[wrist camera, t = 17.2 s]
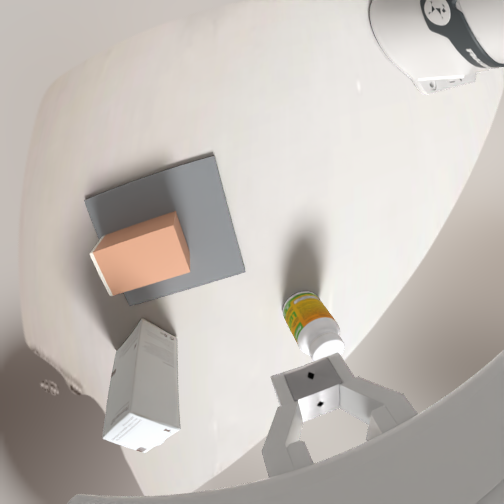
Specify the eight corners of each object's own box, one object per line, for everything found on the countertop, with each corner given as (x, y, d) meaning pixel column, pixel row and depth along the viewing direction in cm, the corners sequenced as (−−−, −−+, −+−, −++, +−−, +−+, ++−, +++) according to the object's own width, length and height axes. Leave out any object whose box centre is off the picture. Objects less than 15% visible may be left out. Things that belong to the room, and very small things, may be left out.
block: (173, 225, 26) (89, 253, 25) (190, 272, 28) (109, 296, 27) (175, 210, 30) (102, 236, 29) (189, 252, 32) (119, 274, 32)
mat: (213, 155, 29) (214, 155, 29) (244, 270, 35) (245, 272, 35) (85, 199, 28) (84, 200, 27) (130, 304, 34) (129, 306, 33)
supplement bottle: (279, 295, 38) (306, 343, 29) (318, 285, 38) (351, 328, 30) (283, 326, 40) (307, 375, 31) (319, 316, 41) (348, 361, 32)
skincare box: (142, 316, 35) (128, 408, 21) (180, 337, 37) (183, 429, 24) (114, 353, 36) (98, 439, 23) (150, 371, 39) (146, 457, 25)
